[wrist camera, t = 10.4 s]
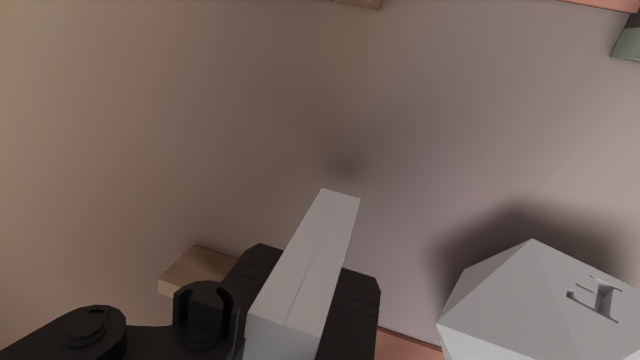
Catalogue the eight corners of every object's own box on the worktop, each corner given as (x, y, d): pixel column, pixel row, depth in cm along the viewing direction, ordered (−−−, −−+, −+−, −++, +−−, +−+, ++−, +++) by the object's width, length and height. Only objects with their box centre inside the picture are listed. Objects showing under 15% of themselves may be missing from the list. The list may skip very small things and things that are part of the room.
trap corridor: (190, 314, 24) (151, 362, 21) (218, -201, 13) (145, -294, 10) (602, 465, 20) (644, 557, 17) (1126, -95, 9) (1582, -182, 6)
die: (653, 309, 17) (864, 334, 8) (573, 470, 16) (710, 678, 8) (486, 227, 20) (511, 184, 12) (415, 356, 20) (387, 411, 11)
